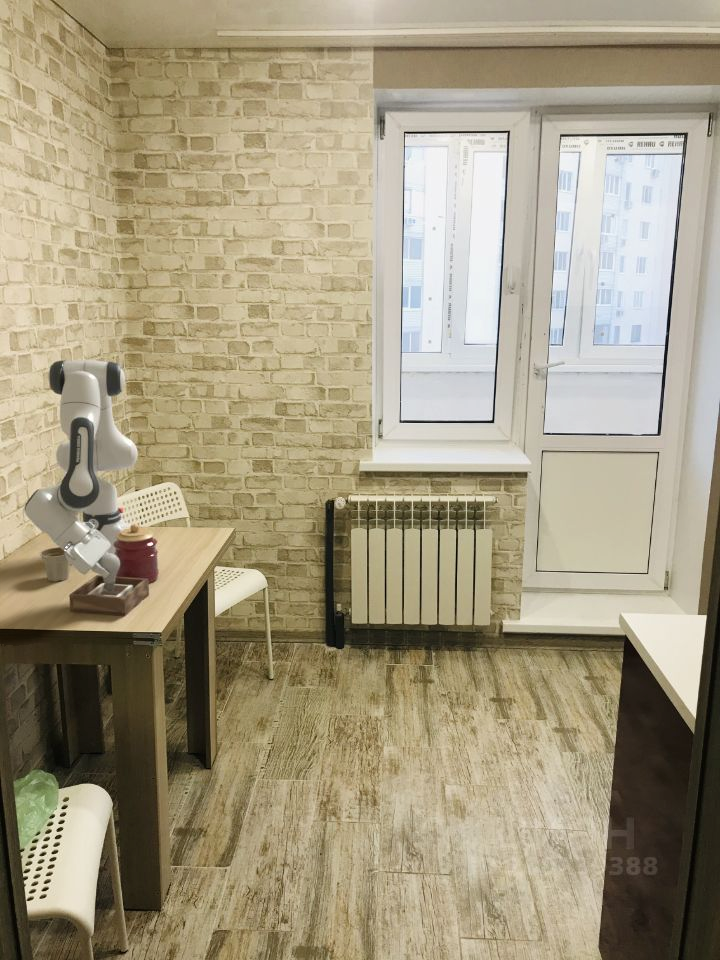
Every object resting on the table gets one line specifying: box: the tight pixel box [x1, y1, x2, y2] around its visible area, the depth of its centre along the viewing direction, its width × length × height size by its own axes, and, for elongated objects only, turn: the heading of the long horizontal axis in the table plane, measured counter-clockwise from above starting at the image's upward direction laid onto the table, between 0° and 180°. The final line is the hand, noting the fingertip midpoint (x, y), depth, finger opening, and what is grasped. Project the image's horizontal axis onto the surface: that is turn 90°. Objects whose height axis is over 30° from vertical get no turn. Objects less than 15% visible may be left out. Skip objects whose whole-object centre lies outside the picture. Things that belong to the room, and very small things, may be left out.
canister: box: [113, 523, 160, 584], centre depth 240 cm, size 13×13×18 cm
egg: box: [97, 553, 120, 591], centre depth 221 cm, size 6×6×11 cm
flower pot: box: [39, 546, 71, 582], centre depth 241 cm, size 9×9×9 cm
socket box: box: [68, 574, 150, 617], centre depth 222 cm, size 16×16×5 cm
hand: (111, 571), depth 220 cm, fingers closed on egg, 6 cm apart
